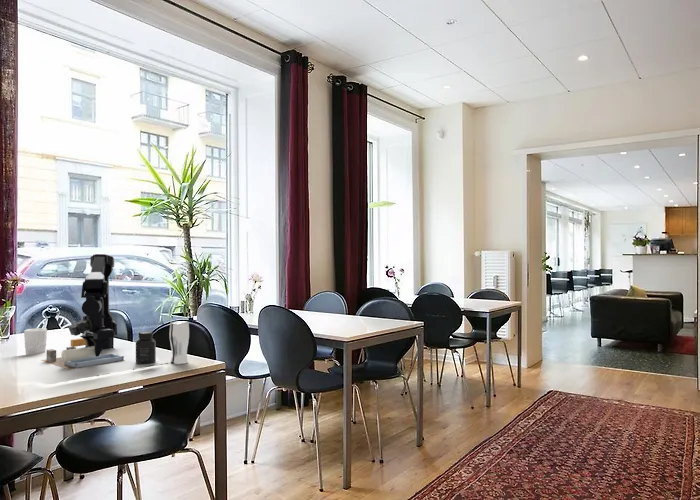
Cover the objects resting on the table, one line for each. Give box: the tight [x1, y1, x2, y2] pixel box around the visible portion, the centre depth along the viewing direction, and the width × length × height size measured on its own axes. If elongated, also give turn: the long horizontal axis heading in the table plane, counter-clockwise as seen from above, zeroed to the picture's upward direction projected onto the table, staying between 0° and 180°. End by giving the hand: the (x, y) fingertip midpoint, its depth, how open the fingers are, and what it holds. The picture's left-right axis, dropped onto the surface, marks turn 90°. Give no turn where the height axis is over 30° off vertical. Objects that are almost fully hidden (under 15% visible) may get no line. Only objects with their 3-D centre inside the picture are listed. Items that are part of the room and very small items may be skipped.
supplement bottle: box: [135, 331, 157, 368], centre depth 192 cm, size 7×7×12 cm
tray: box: [64, 353, 125, 369], centre depth 192 cm, size 17×9×2 cm, turn 140°
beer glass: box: [169, 320, 190, 366], centre depth 196 cm, size 7×7×15 cm
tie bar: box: [70, 337, 87, 348], centre depth 203 cm, size 10×3×2 cm, turn 140°
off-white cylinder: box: [61, 346, 102, 362], centre depth 188 cm, size 12×4×4 cm, turn 140°
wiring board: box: [40, 345, 126, 371], centre depth 196 cm, size 20×24×5 cm
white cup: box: [23, 327, 48, 356], centre depth 211 cm, size 8×8×10 cm
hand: (94, 355), depth 192 cm, fingers closed on off-white cylinder, 4 cm apart
